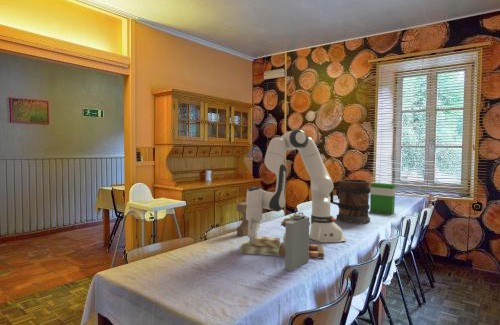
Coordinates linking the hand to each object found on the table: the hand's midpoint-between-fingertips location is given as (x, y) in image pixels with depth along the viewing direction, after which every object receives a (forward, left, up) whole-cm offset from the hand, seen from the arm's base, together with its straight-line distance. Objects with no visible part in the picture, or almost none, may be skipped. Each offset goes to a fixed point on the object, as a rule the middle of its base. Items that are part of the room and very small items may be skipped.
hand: (253, 241), depth 180 cm
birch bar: (-6, 0, -2) cm, 6 cm away
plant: (-22, -61, -5) cm, 65 cm away
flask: (-24, +19, -5) cm, 31 cm away
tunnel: (-20, 0, -2) cm, 21 cm away
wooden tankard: (-61, -81, -5) cm, 102 cm away
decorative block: (+10, -29, -5) cm, 31 cm away
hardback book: (-92, -113, -5) cm, 146 cm away
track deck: (-15, 0, -5) cm, 16 cm away
